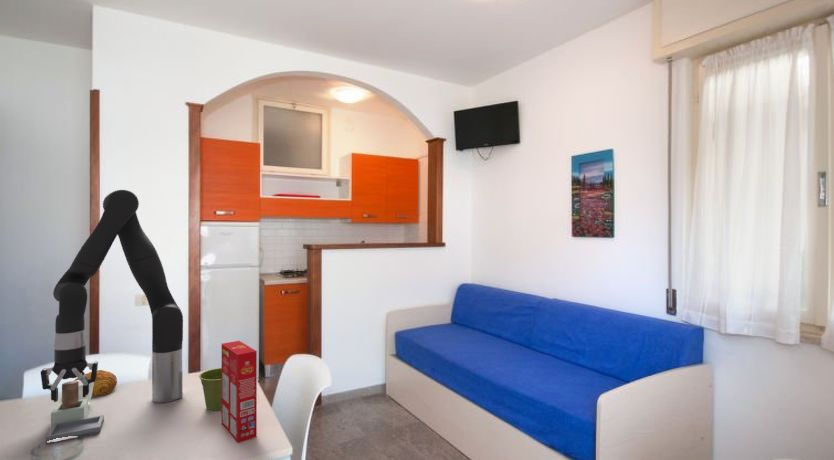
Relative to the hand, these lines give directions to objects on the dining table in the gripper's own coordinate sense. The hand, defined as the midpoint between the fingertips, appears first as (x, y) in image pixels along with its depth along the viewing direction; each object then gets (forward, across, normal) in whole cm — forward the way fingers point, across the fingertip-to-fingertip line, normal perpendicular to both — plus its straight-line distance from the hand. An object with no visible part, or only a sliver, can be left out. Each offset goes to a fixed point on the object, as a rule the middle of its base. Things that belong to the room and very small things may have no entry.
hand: (70, 398), depth 130 cm
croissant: (+8, -2, -27) cm, 28 cm away
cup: (+7, 0, -14) cm, 16 cm away
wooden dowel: (+7, 0, 0) cm, 7 cm away
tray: (+7, -3, +10) cm, 12 cm away
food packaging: (+7, -45, +32) cm, 56 cm away
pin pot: (+7, 0, 0) cm, 7 cm away
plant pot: (+7, -41, +11) cm, 43 cm away
